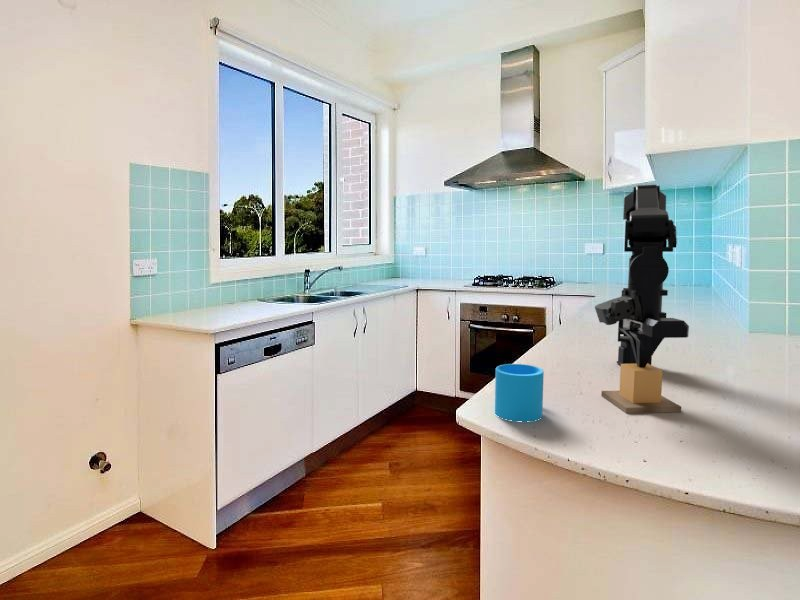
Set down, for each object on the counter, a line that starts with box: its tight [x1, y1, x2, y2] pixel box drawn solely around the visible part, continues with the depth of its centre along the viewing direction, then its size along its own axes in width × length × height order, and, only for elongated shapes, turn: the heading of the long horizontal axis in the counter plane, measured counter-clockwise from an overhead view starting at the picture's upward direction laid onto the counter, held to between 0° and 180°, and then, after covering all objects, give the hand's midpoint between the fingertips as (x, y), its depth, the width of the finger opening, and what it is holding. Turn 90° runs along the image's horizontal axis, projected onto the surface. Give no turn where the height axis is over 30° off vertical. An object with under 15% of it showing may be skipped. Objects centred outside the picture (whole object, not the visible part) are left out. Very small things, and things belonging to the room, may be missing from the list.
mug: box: [494, 363, 545, 422], centre depth 90 cm, size 12×8×8 cm
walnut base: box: [600, 390, 682, 414], centre depth 94 cm, size 10×10×1 cm
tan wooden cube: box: [618, 363, 664, 403], centre depth 94 cm, size 5×5×6 cm
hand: (641, 367), depth 93 cm, fingers closed, pressing on tan wooden cube
